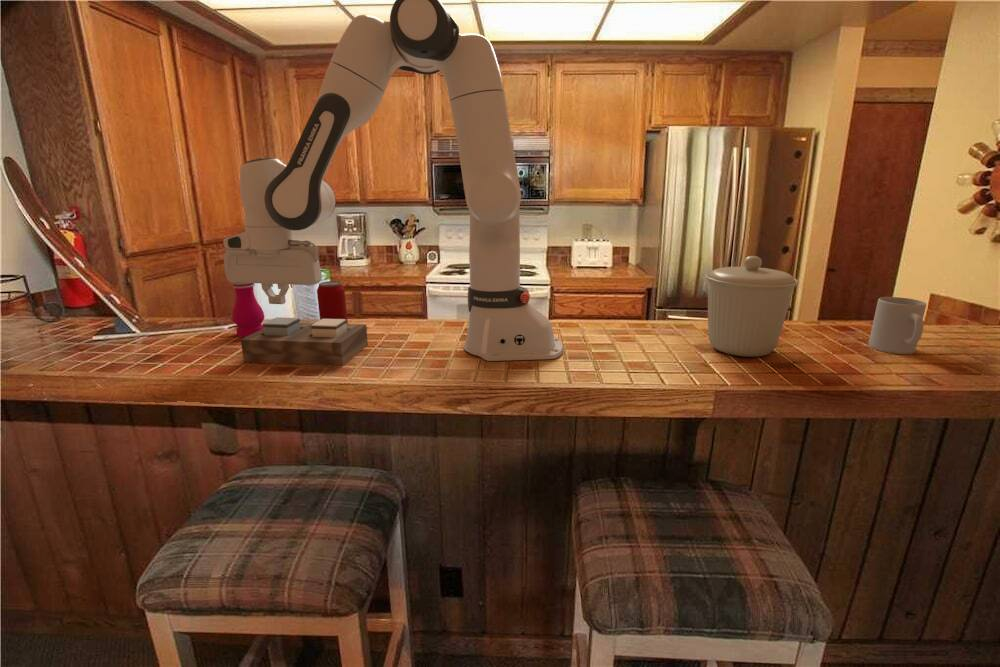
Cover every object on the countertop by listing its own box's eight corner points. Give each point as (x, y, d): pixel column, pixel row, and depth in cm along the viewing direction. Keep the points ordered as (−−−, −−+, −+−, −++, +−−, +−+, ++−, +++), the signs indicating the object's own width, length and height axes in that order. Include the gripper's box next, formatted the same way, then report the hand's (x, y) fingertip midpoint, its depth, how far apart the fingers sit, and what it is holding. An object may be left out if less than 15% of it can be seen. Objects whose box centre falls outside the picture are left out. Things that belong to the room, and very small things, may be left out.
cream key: (348, 340, 113) (346, 319, 111) (338, 348, 108) (335, 325, 106) (325, 339, 114) (322, 318, 112) (313, 347, 108) (311, 325, 107)
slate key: (302, 339, 114) (299, 317, 113) (289, 346, 109) (286, 324, 108) (279, 338, 115) (276, 317, 113) (265, 345, 110) (262, 323, 108)
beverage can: (352, 325, 134) (347, 280, 131) (342, 332, 128) (337, 285, 124) (327, 324, 135) (323, 280, 131) (316, 331, 128) (311, 285, 125)
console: (367, 345, 117) (366, 324, 116) (343, 365, 104) (340, 342, 103) (279, 342, 120) (276, 322, 118) (244, 362, 106) (240, 339, 105)
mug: (860, 342, 118) (869, 296, 115) (899, 343, 117) (910, 297, 113) (891, 359, 106) (902, 308, 103) (935, 360, 105) (948, 309, 102)
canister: (681, 340, 119) (691, 252, 113) (748, 336, 123) (761, 249, 117) (730, 367, 102) (744, 264, 96) (806, 360, 106) (824, 260, 100)
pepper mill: (261, 328, 132) (249, 251, 126) (270, 333, 127) (259, 254, 121) (231, 333, 127) (218, 254, 121) (240, 339, 122) (226, 257, 116)
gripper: (323, 239, 107) (329, 302, 111) (234, 236, 109) (243, 298, 113) (309, 242, 101) (316, 308, 105) (215, 240, 103) (225, 305, 107)
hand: (277, 303), depth 109 cm, fingers closed
